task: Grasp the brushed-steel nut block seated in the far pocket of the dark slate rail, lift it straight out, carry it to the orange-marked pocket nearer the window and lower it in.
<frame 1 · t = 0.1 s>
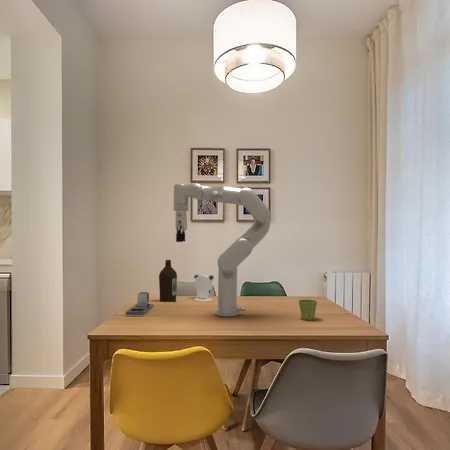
hand: (180, 241, 208), 37 cm above the table, tool pointing down, fingers open, 9 cm apart
panda figurine: (203, 300, 250), on the table
plant pot: (307, 319, 196), on the table
olive oil: (168, 302, 240), on the table
nut block: (143, 308, 216), point 1 cm above the table, touching rail
rail: (140, 312, 210), on the table
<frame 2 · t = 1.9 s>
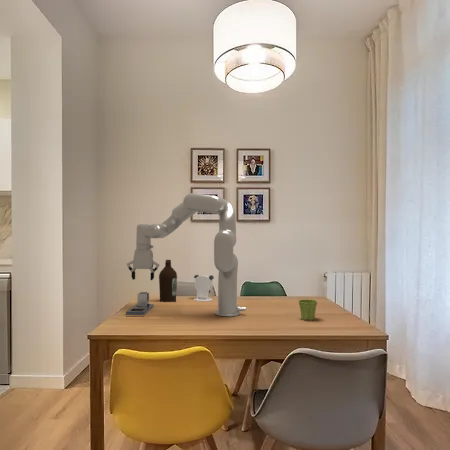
hand: (142, 279, 217), 16 cm above the table, tool pointing down, fingers open, 9 cm apart
nothing on the table moved.
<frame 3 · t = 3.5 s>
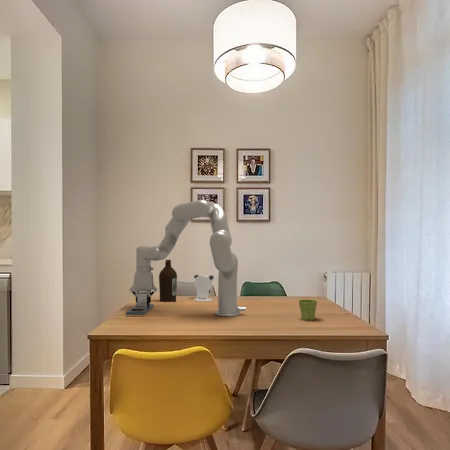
hand: (143, 303, 216), 3 cm above the table, tool pointing down, fingers closed on nut block, 5 cm apart
nut block: (143, 308, 216), point 1 cm above the table, touching gripper, rail
everything else where it was.
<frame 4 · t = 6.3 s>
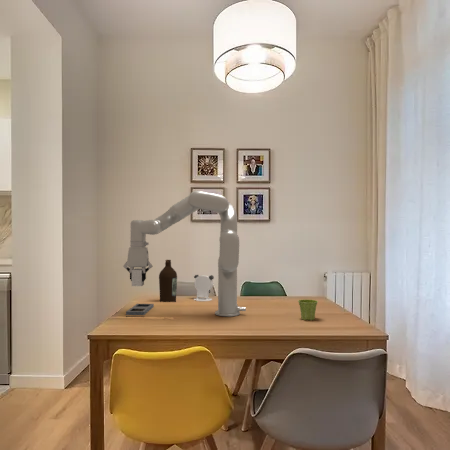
hand: (137, 280, 205), 17 cm above the table, tool pointing down, fingers closed on nut block, 5 cm apart
nut block: (137, 285, 205), point 15 cm above the table, touching gripper
everything else where it was.
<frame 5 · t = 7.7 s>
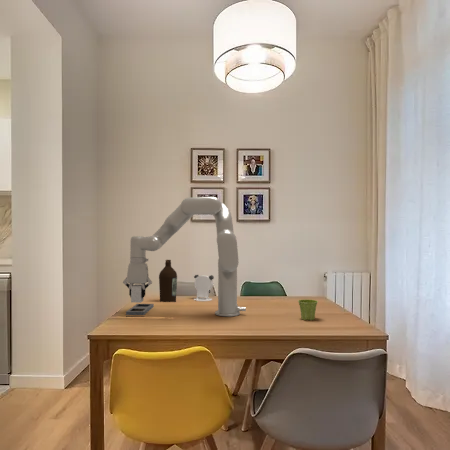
hand: (137, 296, 204), 9 cm above the table, tool pointing down, fingers closed on nut block, 5 cm apart
nut block: (137, 301, 204), point 7 cm above the table, touching gripper
everything else where it was.
when the fingers open (4 cm above the table, at t = 9.0 s): nut block stays where it is, resting on rail.
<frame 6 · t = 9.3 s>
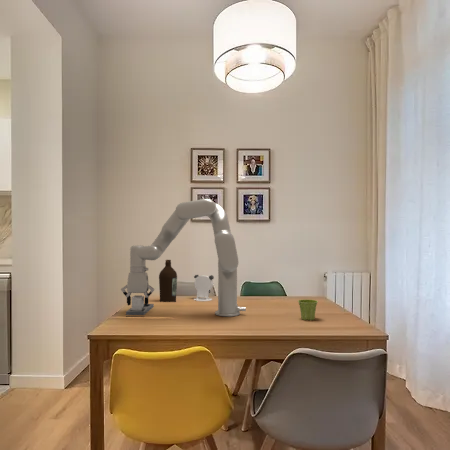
hand: (137, 304, 204), 5 cm above the table, tool pointing down, fingers open, 8 cm apart
nut block: (137, 312, 204), point 1 cm above the table, touching rail
everything else where it was.
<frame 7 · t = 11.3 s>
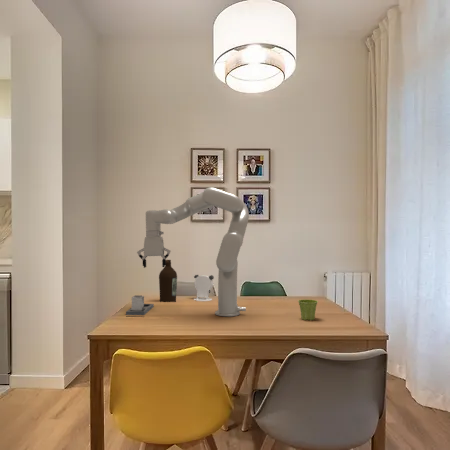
hand: (154, 267, 211), 23 cm above the table, tool pointing down, fingers open, 9 cm apart
nothing on the table moved.
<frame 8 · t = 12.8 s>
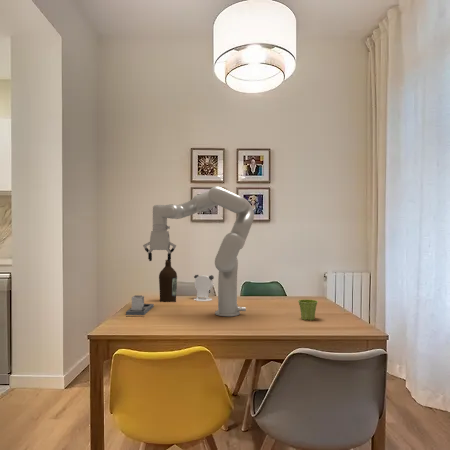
hand: (159, 260, 214), 26 cm above the table, tool pointing down, fingers open, 9 cm apart
nothing on the table moved.
at the end: nut block 0.1 cm from the target spot on the rail, point 1.1 cm above the rail's base; nut block tilted 0°; the gripper is holding nothing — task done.
